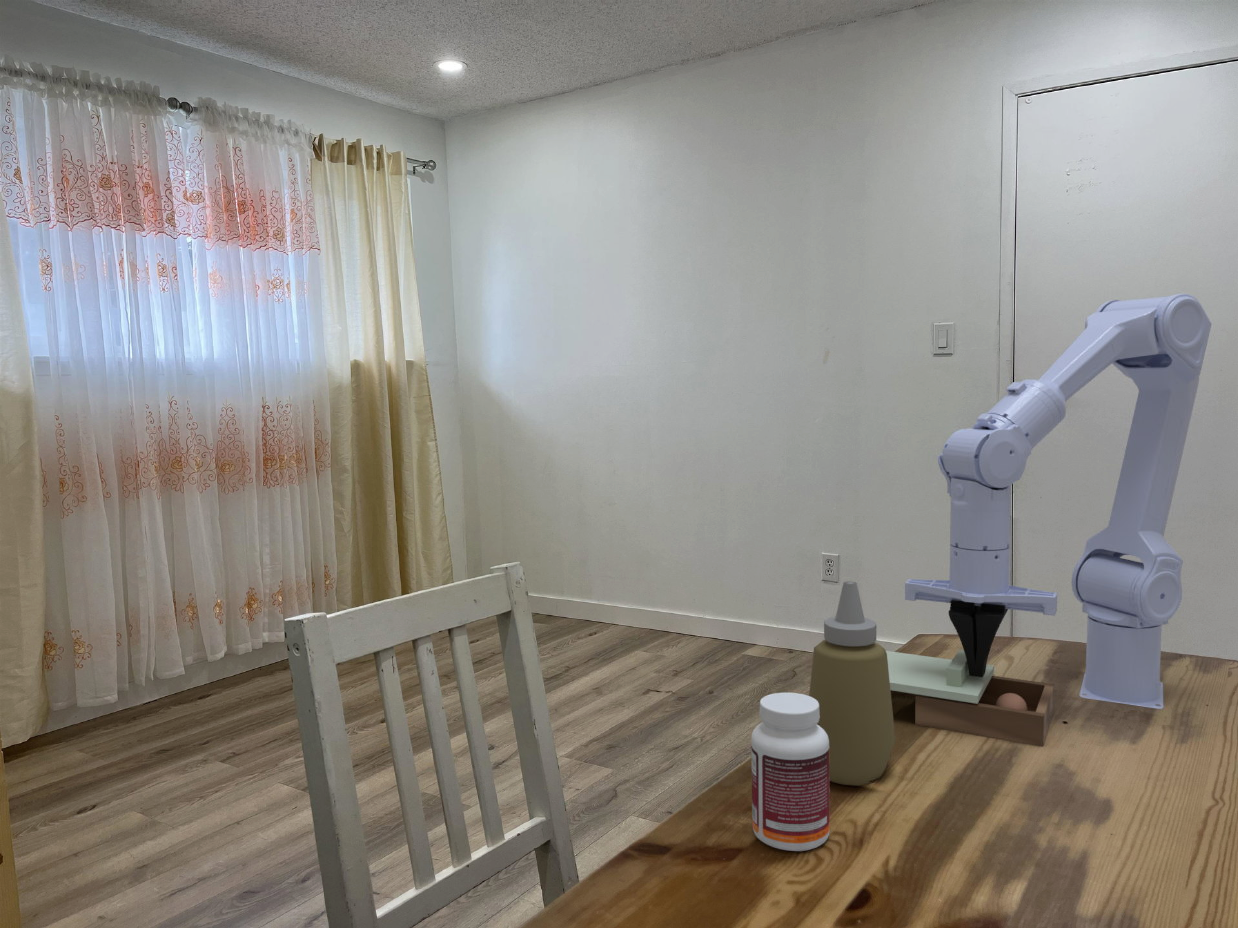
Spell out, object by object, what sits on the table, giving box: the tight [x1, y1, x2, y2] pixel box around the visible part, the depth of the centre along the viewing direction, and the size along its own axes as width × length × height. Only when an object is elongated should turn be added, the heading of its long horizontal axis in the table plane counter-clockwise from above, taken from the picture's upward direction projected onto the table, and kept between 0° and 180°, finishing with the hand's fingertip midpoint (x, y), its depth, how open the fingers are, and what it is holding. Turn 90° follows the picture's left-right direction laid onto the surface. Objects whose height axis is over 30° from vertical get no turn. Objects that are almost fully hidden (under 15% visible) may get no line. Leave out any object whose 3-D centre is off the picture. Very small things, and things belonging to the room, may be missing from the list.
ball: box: [996, 693, 1027, 711], centre depth 93 cm, size 3×3×3 cm
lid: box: [886, 649, 995, 704], centre depth 98 cm, size 10×12×3 cm
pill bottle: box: [750, 692, 831, 852], centre depth 73 cm, size 6×6×11 cm
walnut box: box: [914, 675, 1055, 747], centre depth 95 cm, size 10×12×4 cm
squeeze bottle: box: [808, 581, 896, 786], centre depth 83 cm, size 8×8×18 cm
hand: (977, 673), depth 95 cm, fingers closed
